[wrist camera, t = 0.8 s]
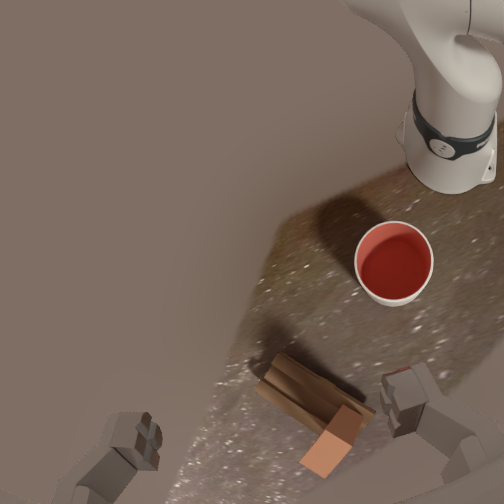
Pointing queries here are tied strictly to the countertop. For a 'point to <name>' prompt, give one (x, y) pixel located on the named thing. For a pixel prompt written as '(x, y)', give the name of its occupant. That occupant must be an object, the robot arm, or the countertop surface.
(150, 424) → the robot arm
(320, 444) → the plate
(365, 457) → the countertop surface
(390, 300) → the cup
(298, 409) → the beam
